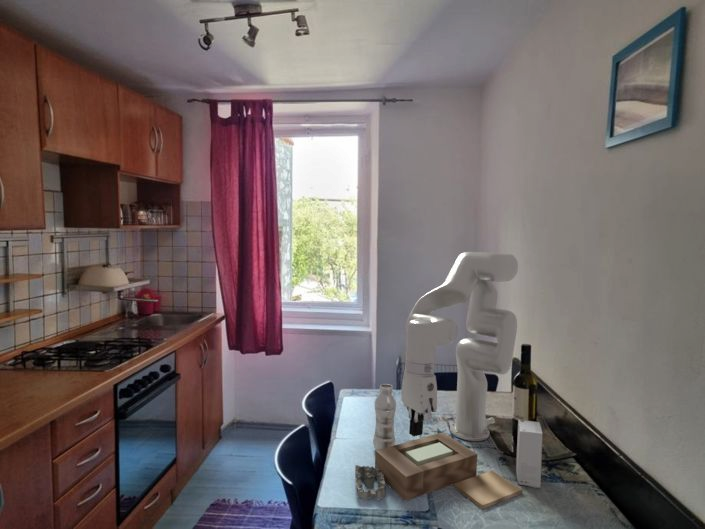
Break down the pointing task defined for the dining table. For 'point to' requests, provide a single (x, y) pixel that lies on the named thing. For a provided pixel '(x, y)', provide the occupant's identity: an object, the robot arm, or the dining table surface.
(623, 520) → the dining table surface
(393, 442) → the plastic bottle
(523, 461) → the skincare box
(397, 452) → the pocket board
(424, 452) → the slab
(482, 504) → the plate
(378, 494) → the egg carton
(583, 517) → the dining table surface
